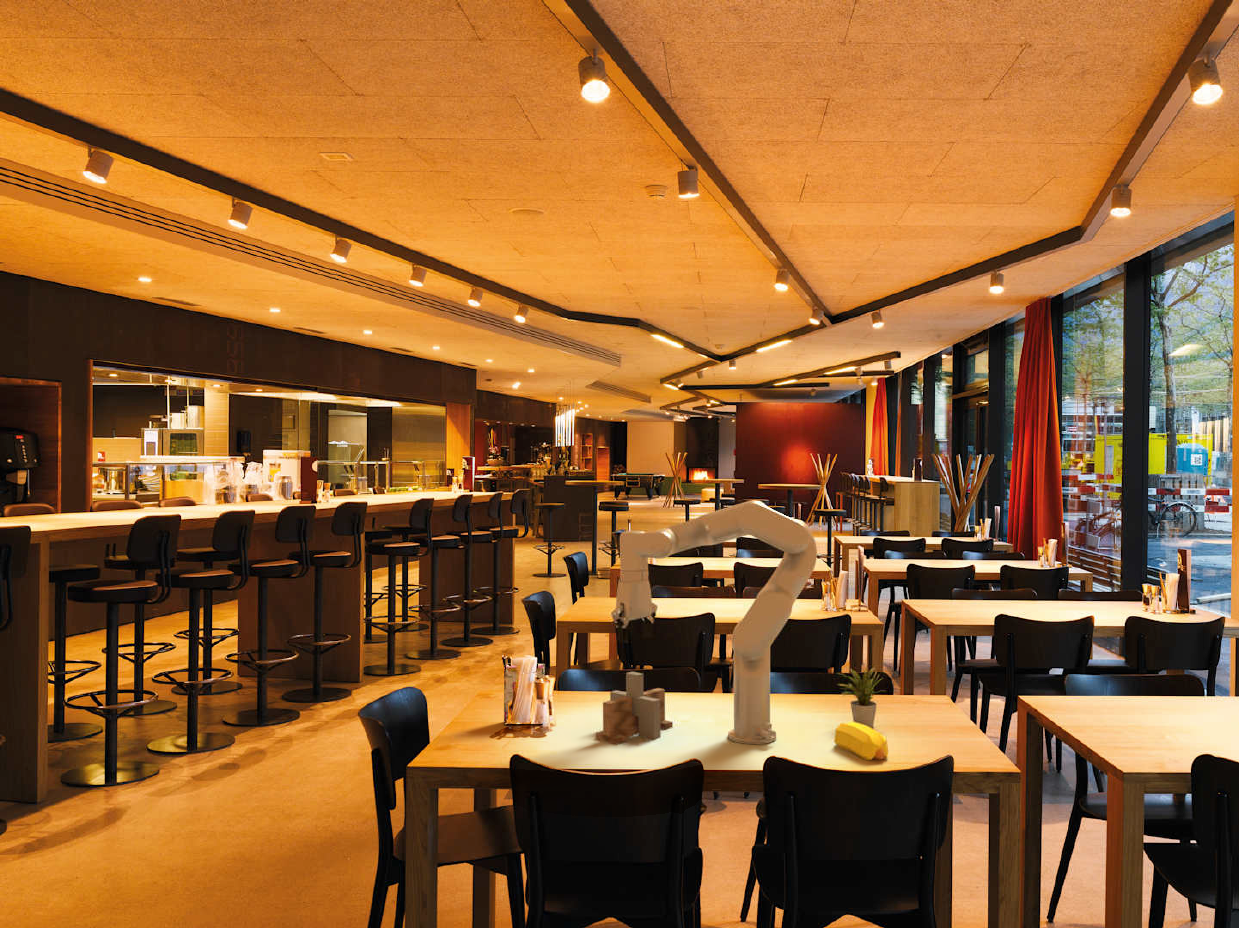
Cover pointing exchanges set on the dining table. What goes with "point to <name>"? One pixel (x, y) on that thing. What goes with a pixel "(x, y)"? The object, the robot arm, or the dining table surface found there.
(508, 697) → the candy bar box
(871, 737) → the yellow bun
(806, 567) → the robot arm
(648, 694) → the walnut slotted stand
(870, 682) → the house plant
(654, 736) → the grey slotted plate
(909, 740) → the dining table surface
